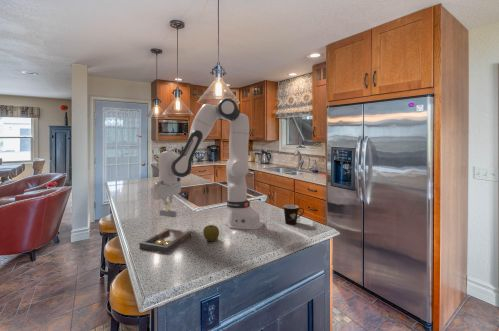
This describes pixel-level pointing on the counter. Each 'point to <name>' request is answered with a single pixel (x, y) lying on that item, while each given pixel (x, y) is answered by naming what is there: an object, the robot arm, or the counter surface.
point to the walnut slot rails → (182, 239)
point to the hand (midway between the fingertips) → (167, 204)
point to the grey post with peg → (168, 211)
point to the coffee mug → (291, 214)
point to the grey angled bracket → (155, 247)
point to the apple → (211, 232)
